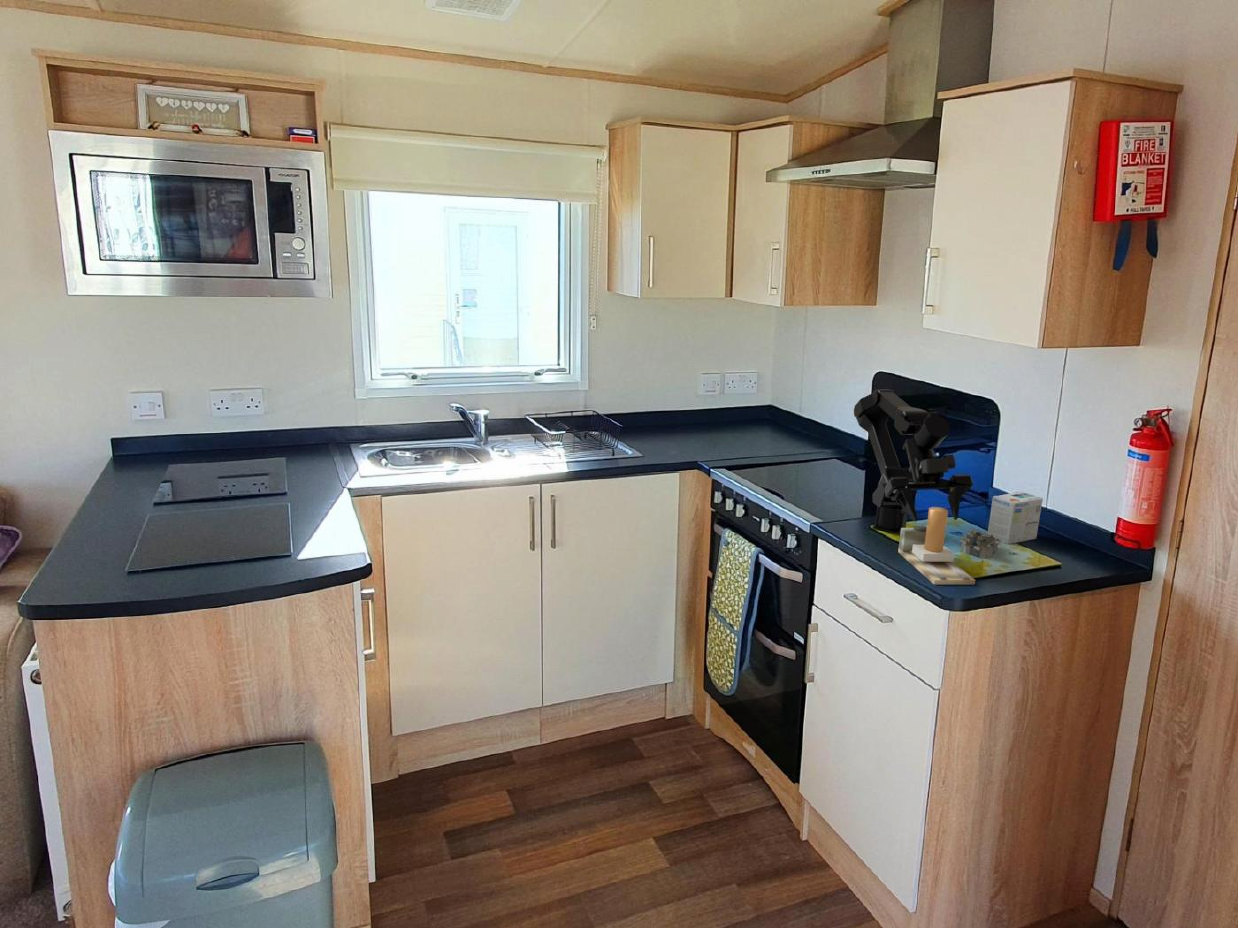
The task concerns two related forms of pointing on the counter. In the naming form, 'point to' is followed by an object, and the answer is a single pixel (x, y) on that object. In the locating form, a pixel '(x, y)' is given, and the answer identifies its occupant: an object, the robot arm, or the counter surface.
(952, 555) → the rubber stamp
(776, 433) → the counter surface
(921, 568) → the rail board
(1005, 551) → the counter surface
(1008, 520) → the light bulb box
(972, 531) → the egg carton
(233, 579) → the counter surface
